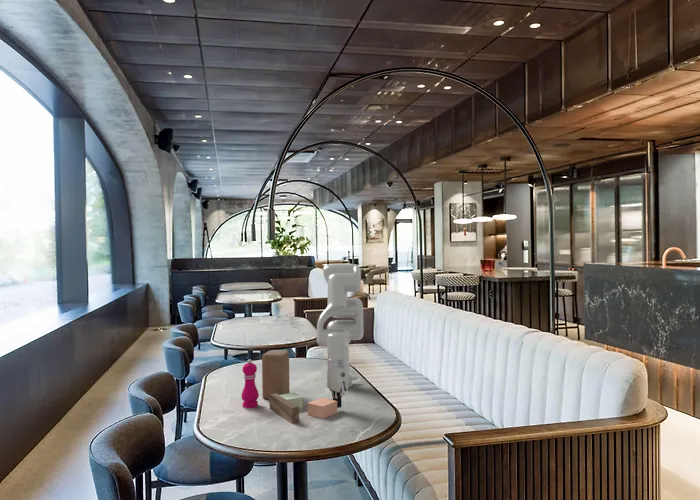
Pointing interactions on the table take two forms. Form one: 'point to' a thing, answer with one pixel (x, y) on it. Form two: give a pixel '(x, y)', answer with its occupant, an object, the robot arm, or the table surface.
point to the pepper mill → (250, 386)
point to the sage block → (294, 399)
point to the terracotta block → (322, 408)
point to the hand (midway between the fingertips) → (337, 407)
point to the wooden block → (275, 373)
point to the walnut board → (284, 408)
